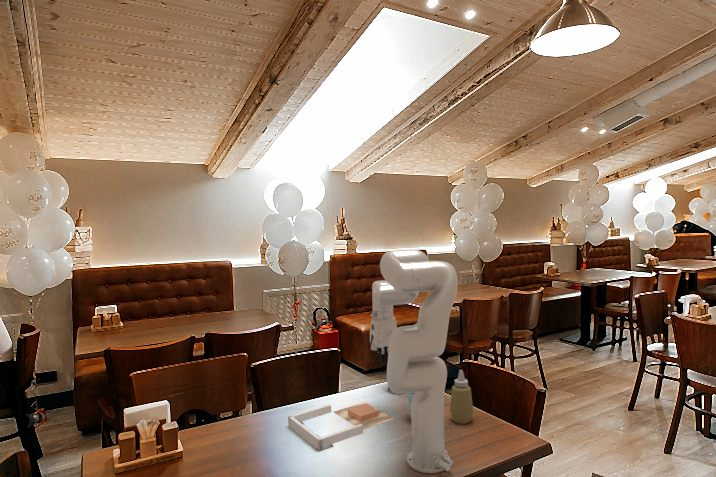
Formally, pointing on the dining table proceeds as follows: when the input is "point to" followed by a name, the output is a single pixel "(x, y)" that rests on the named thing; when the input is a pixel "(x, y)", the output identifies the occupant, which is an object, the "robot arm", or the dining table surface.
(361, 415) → the tile
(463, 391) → the squeeze bottle
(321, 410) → the box
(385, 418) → the beige square board
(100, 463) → the dining table surface
